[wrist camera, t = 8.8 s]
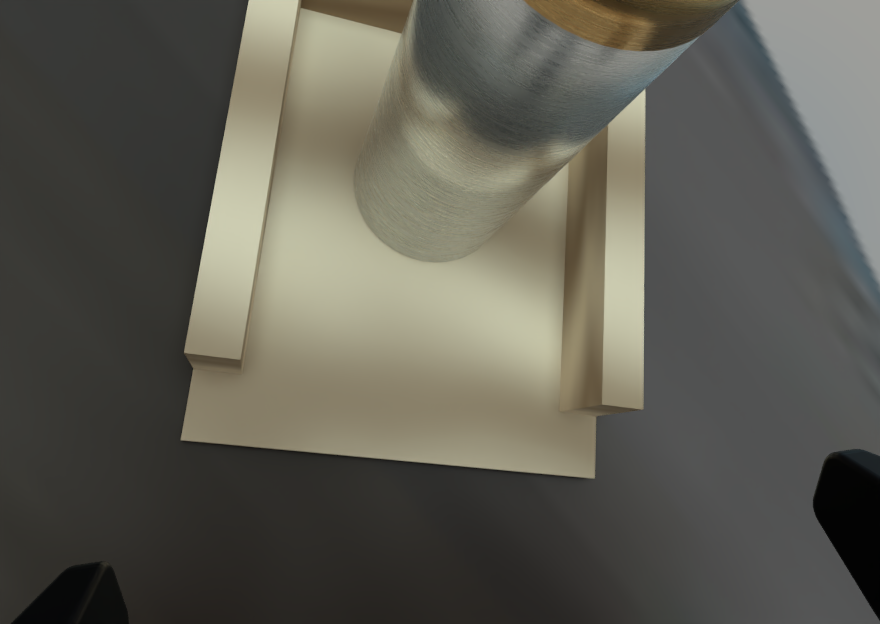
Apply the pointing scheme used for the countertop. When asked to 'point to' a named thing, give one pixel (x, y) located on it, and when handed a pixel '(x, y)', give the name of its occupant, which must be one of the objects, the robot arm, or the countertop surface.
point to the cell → (503, 107)
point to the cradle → (403, 279)
